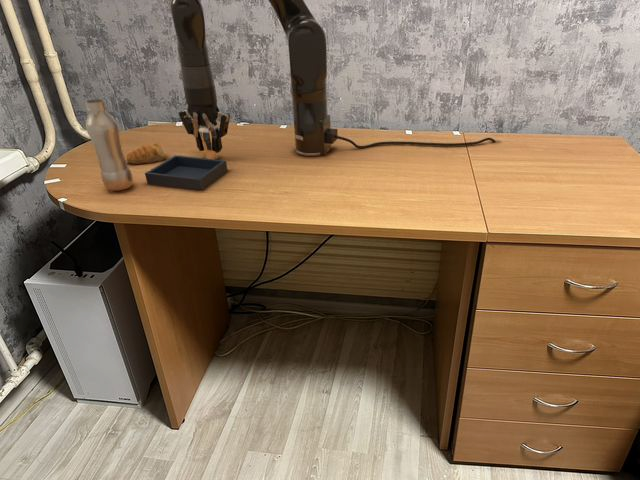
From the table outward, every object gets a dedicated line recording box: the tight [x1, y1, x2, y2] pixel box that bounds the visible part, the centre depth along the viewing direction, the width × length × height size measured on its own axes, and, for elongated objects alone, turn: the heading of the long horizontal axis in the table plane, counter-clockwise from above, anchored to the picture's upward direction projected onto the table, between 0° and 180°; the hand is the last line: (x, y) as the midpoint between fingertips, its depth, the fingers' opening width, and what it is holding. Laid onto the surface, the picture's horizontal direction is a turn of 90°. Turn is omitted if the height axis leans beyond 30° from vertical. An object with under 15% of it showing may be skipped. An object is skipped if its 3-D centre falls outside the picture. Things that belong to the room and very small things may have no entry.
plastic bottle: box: [85, 98, 134, 191], centre depth 108 cm, size 6×7×20 cm
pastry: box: [125, 142, 166, 165], centre depth 128 cm, size 9×7×4 cm
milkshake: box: [198, 124, 219, 160], centre depth 127 cm, size 4×5×10 cm
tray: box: [144, 154, 229, 192], centre depth 118 cm, size 15×13×3 cm
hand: (210, 150), depth 128 cm, fingers closed on milkshake, 4 cm apart
